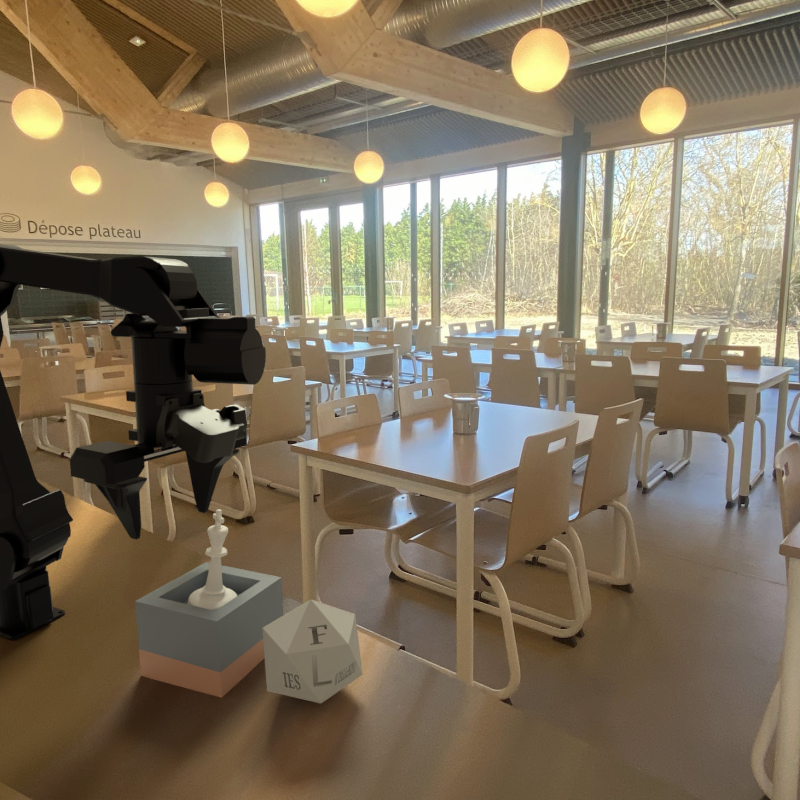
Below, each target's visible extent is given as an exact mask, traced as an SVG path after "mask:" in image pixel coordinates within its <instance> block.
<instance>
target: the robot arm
mask: <svg viewBox="0 0 800 800" xmlns="http://www.w3.org/2000/svg"><path fill="white" fill-rule="evenodd" d="M20 286H26V287H33V288H38V289H39V288H41V289H46V290H54V291H59V292H64V293H65V292H67V293H72V294H80V295H85V296H87V295H88V296H90V297H94V298H97V299H99V300H102V301H103V302H105V303H106V304H108V305H109V306H111V307H114V308H116V309H120V310H122V311H125V312H127V313H126V314H125V315H124V318H123V319H122V320H121V321H120V322H119V323H118V324H117V325H115V326H114V328H112V329H111V330H110V335H111V336H112V337H114V338H120V337H121V338H130V339H131V352H132V370H133V371H132V372H133V387H134V388H133V389H132V390H125V396H126V398H125V399H126V402H132V403H135V404H134V406H135V423H136V428H132V429H129V430H128V440H129V441H135V442H137V443H136V444H127V443H123V442H122V443H121V442H115V441H111V440H105V441H104V440H103V441H99V442H95V443H91V444H87V445H82V446H78V447H75V449H74V450H73V453H72V454H71V455H70V458H69V466H70V477H72V478H77V479H82V480H83V481H84V482H85V483H88V484H93V485H95V486H96V488H97V489H98V490H99V492H100V493H101V494H102V496H103V497H104V498H105V499H106V500H107V502H108V503H109V505H110V506H111V508H112V510H113V511H114V513H115V515H116V517H117V518H118V520H119V521H120V523H121V525H122V526H123V528H124V531H126V532H127V535H128V537H129V538H131V539H133V540H139V539H140V538H141V531H142V517H141V516H142V515H141V498H140V497H141V495H140V492H141V489H142V488H143V486H144V485H145V484H146V482H147V480H148V477H145V476H144V477H143V476H140V475H141V473H142V472H143V471H144V469H145V466H146V465H145V462H149V461H153V460H156V459H160V458H165V457H167V456H170V455H175V454H178V453H182V452H185V456H186V461H187V465H188V471H189V477H190V482H191V487H192V492H193V496H194V501H195V505H196V508H197V511H198V512H199V513H202V514H203V513H204V514H205V513H208V512H209V508H210V505H211V501H212V498H213V496H214V492H215V489H216V486H217V482H218V479H219V477H220V475H221V471H222V469H223V467H224V465H225V464H226V463H227V462H228V461H229V460H230V459H232V458H234V456H237V455H238V454H239V452H240V449H239V448H242V447H246V446H248V442H247V441H248V438H247V432H248V431H247V428H248V422H247V421H248V420H247V413H246V412H247V411H246V408H244V407H242V406H241V405H239V404H238V403H235V404H230V405H225V406H223V407H222V409H219V408H214V409H210V408H208V407H206V405H205V399H204V398H205V397H204V394H203V393H202V389H196V388H194V387H193V386H194V384H193V383H194V382H193V377H194V378H195V380H196V381H198V382H199V383H202V384H203V383H204V384H207V383H208V384H210V383H211V384H225V385H226V384H227V385H231V384H232V385H248V386H249V385H250V386H251V385H252V386H253V385H257V384H258V383H259V382H260V380H261V379H262V377H263V374H264V371H265V367H266V361H267V359H266V357H267V355H266V354H267V353H266V352H267V351H266V347H265V346H264V343H263V338H262V336H261V334H260V332H259V330H258V329H257V328H256V318H255V316H249V315H248V316H234V317H219V315H218V314H217V312H216V311H215V309H214V307H212V305H211V304H210V302H209V301H208V300H207V298H206V297H205V295H204V294H203V293H202V291H201V290H200V288H199V287H198V282H197V278H196V276H195V274H194V272H193V271H192V269H191V268H190V265H189V264H187V263H186V262H184V261H183V260H180V259H175V258H166V257H157V256H156V257H155V256H154V257H153V256H145V255H144V256H143V255H142V256H141V255H136V256H121V257H119V256H117V257H108V258H103V259H98V258H97V259H96V258H89V257H83V256H76V255H67V254H62V253H54V252H47V251H40V250H33V249H27V248H26V249H25V248H21V247H20V246H17V245H14V244H12V245H11V244H3V243H0V348H1V347H2V344H3V340H4V334H5V333H4V327H3V322H2V316H3V315H4V314H5V313H6V312H7V311H8V310H9V309H10V308H11V307H12V306H13V305H15V304H14V303H15V302H16V298H17V295H18V291H19V288H20ZM143 316H147V317H149V318H151V320H147V319H146V318H145V317H143ZM181 327H185V331H184V330H179V329H178V328H181ZM18 423H19V422H18V420H17V416H16V414H15V411H14V408H13V405H12V401H11V399H10V397H9V393H8V390H7V386H6V383H5V381H4V377H3V375H2V371H1V370H0V636H1V637H4V638H7V639H9V640H12V641H13V640H16V639H19V638H22V637H23V636H27V635H28V634H30V633H32V632H34V631H36V630H38V629H41V628H42V627H45V626H47V625H48V624H51V623H52V622H54V621H56V620H58V619H60V618H62V617H63V616H65V615H66V611H65V610H64V609H61V608H58V607H55V606H53V598H52V597H53V596H52V590H51V589H52V587H51V585H50V579H49V578H50V576H49V571H48V569H47V566H50V565H51V564H53V563H54V562H58V561H60V560H61V559H62V556H63V552H64V548H65V546H66V545H67V543H68V540H69V539H70V537H71V533H72V528H71V525H70V523H71V522H73V521H74V519H73V517H72V516H71V514H70V513H69V510H68V508H67V505H66V499H65V495H64V493H63V492H62V490H61V489H55V490H53V491H50V490H48V489H47V488H46V487H45V486H44V485H43V484H42V483H40V482H39V481H38V479H37V477H36V475H35V471H34V468H33V466H32V462H31V459H30V457H29V453H28V450H27V448H26V445H25V441H24V439H23V438H24V437H23V435H22V432H21V430H20V425H19V424H18Z"/></svg>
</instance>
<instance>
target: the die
mask: <svg viewBox="0 0 800 800" xmlns="http://www.w3.org/2000/svg"><path fill="white" fill-rule="evenodd" d="M262 629H263V643H264V657H265V658H264V667H265V668H264V671H265V682H266V683H265V684H266V692H270V693H275V694H279V695H282V696H283V695H284V696H286V697H291V698H295V699H298V700H299V699H300V700H304V701H309V702H312V703H316V704H323V703H324V702H325V701H327V700H328V699H330V698H331V697H333V696H334V695H335V694H337V693H338V692H340V691H342V690H343V689H345V687H347V686H349V685H350V684H352V683H353V682H355V680H357V679H358V678H361V676H363V675H364V674H363V667H362V658H361V649H360V648H361V647H360V642H359V635H358V626H357V617H356V613H352V612H351V611H347V610H343V609H341V608H338V607H334V606H332V605H329V604H326V603H323V602H320V601H317V600H314V599H309V600H307V601H305V602H304V603H302V604H300V605H298V606H297V607H295V608H293V609H292V610H290V611H288V612H287V613H285V614H283V616H281V617H280V618H278V619H276V620H275V621H273V622H271V623H270V624H268V625H266V626H265V627H263V628H262Z"/></svg>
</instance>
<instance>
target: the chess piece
mask: <svg viewBox="0 0 800 800" xmlns="http://www.w3.org/2000/svg"><path fill="white" fill-rule="evenodd" d="M222 515H223V510H222V509H220V508H219V509H216V510H215V512H214V513H213V514H212V518H213V519H214V522H215V523H214V525H210V526H208V527H207V531H206V532H207V534H208V538H209V542H210V545H211V546H209V547H207V548H206V549H205V552H204V553H205V555H206V556H207V557H210V561H209V563H210V567H209V572H208V577H207V582H206V585H205V586H204V587H203V588H200V589H198V590H196V591H194V592H193V593H191V595H190V596H189V599H188V603H187V604H188V605H192V606H196V607H201V608H205V609H209V610H213V611H216V610H217V609H219V608H220V607H222V606H223V605H225V604H226V603H228V602H229V601H231V600H232V599H234V598H235V597H237V594H236V593H235V592H234V591H233V590H231V589H229V588H226V587H225V586H224V585H223V583H222V570H221V565H222V558H223V557H225V556H227V555H228V549H227V548H226V547H224V543H225V540H226V538H227V536H228V533H229V528H228V527H227V526H226V525H223V524H224V523H225V518H224V517H223V516H222Z"/></svg>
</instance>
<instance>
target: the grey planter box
mask: <svg viewBox="0 0 800 800" xmlns="http://www.w3.org/2000/svg"><path fill="white" fill-rule="evenodd" d="M209 567H210V562H207V561H205V562H204V563H202V564H201V565H198V566H196V567H195V568H193V569H190V570H189V571H187V572H186V573H184V574H182V575H180V576H179V577H176V578H174V579H173V580H171V581H169V582H167V583H165V584H163V585H162V586H159V587H158V588H157V589H154V590H153V591H151V592H149V593H147V594H145V595H144V596H142V597H140V598H138V599H136V600H135V601H134V606H135V618H136V630H137V640H138V641H137V642H138V652H139V665H140V676H142V677H144V678H148V679H151V680H155V681H157V682H158V681H159V682H162V683H167V684H170V685H173V686H177V687H180V688H181V687H182V688H185V689H188V690H192V691H195V692H200V693H203V694H206V695H211V696H214V697H217V698H218V697H219V698H221V699H222V698H223V697H224V696H225V695H226V694H228V693H229V692H230V691H231V690H232V689H233V688H234V687H235V686H236V685H237V684H239V683H240V681H242V679H244V678H245V677H246V676H247V675H248V674H249V673H250V672H251V671H252V670H253V669H254V668H256V667H257V666H258V665H259V664H260V663H261V662H262V661H263V660H265V657H264V643H263V629H262V628H263V627H265V626H266V625H268V624H270V623H271V622H273V621H275V620H276V619H278V618H280V617H281V616H283V615H284V605H283V603H284V601H283V600H284V599H283V584H282V583H283V582H282V581H283V579H282V578H283V577H280V576H277V575H271V574H267V573H261V572H258V571H252V570H246V569H242V568H237V567H232V566H228V565H222V564H221V570H222V583H223V585H224V586H225V587H226V588H229V589H231V590H233V591H234V592H235V593H236V594H237V597H235V598H234V599H232V600H231V601H229V602H228V603H226V604H225V605H223V606H222V607H220V608H219V609H217V610H216V611H213V610H209V609H205V608H201V607H196V606H192V605H188V604H187V603H188V599H189V596H190V595H191V593H193V592H194V591H196V590H198V589H200V588H203V587H204V586H205V585H206V582H207V577H208V572H209Z"/></svg>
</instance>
